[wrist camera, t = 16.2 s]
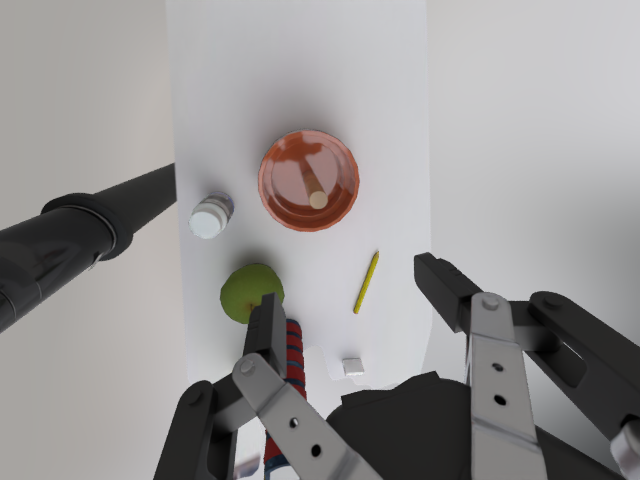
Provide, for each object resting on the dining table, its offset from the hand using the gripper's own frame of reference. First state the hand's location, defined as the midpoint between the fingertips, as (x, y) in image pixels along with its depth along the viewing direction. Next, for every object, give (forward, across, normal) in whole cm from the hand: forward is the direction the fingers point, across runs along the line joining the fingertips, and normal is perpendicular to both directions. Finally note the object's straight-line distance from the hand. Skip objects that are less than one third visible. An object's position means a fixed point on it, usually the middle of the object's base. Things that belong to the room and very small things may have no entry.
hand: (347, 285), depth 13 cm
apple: (+28, +14, +16) cm, 35 cm away
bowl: (+28, 0, 0) cm, 28 cm away
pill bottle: (+28, +15, +1) cm, 32 cm away
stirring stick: (+28, 0, 0) cm, 28 cm away
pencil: (+28, -7, +25) cm, 38 cm away
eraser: (+28, 0, +50) cm, 57 cm away
